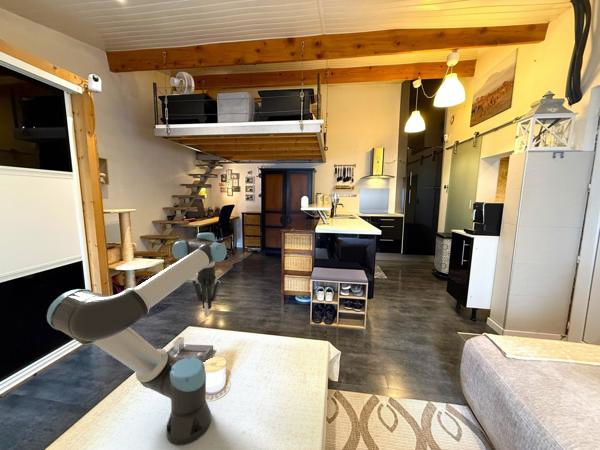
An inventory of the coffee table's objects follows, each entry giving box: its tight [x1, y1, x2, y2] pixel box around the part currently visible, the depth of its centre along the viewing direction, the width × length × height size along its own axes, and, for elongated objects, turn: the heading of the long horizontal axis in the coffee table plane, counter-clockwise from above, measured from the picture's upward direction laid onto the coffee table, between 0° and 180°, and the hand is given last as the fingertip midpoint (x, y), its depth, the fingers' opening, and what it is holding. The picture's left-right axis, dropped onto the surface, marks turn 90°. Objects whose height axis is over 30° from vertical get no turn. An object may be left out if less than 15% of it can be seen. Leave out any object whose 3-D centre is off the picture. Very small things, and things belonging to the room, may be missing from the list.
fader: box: [173, 336, 185, 353], centre depth 132 cm, size 5×3×6 cm, turn 178°
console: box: [166, 343, 214, 362], centre depth 132 cm, size 12×22×4 cm, turn 88°
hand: (207, 314), depth 114 cm, fingers closed
